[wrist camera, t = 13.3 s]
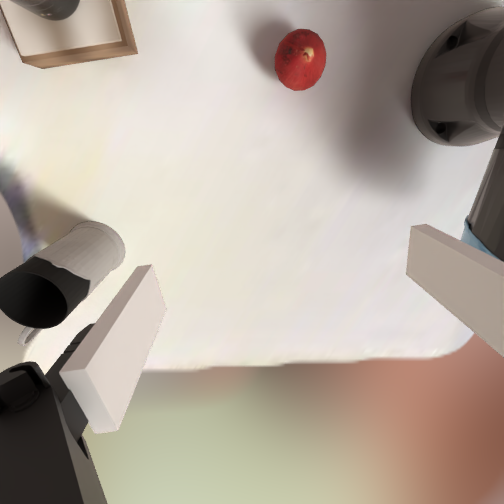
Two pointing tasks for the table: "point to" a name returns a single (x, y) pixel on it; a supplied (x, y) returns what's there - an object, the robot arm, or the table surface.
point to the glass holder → (59, 277)
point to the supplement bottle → (50, 8)
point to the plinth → (71, 34)
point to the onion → (300, 59)
